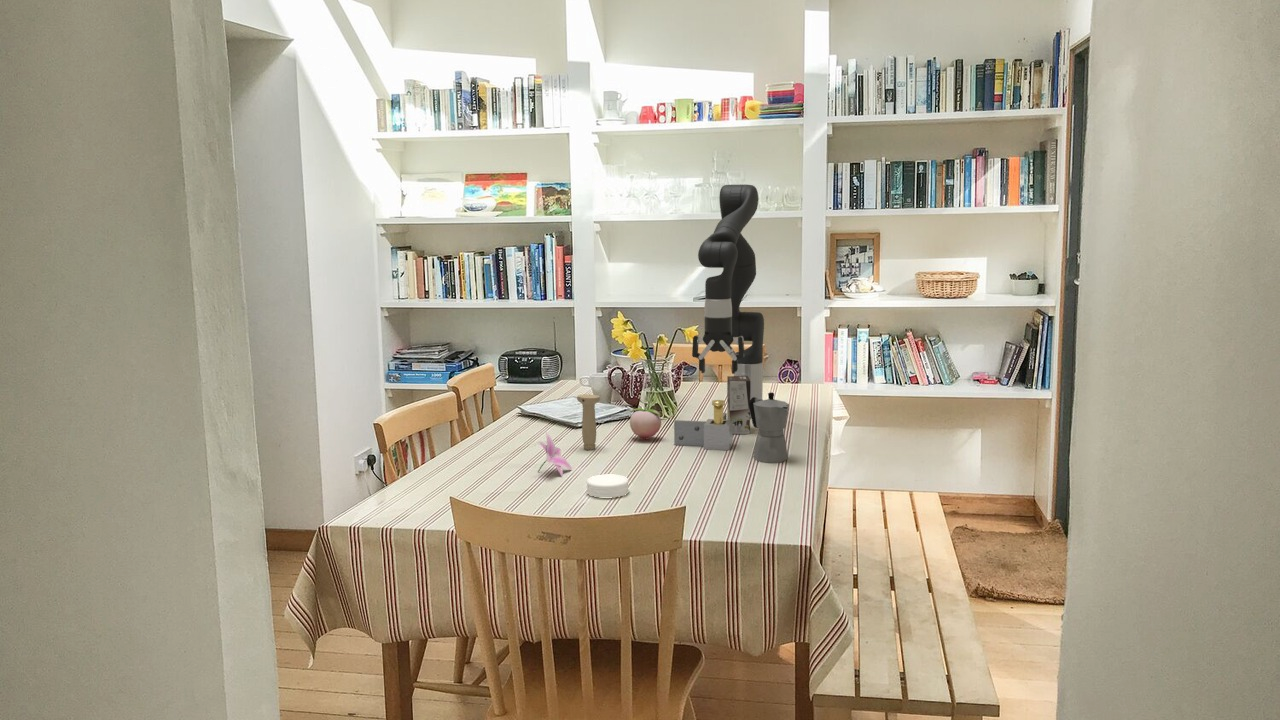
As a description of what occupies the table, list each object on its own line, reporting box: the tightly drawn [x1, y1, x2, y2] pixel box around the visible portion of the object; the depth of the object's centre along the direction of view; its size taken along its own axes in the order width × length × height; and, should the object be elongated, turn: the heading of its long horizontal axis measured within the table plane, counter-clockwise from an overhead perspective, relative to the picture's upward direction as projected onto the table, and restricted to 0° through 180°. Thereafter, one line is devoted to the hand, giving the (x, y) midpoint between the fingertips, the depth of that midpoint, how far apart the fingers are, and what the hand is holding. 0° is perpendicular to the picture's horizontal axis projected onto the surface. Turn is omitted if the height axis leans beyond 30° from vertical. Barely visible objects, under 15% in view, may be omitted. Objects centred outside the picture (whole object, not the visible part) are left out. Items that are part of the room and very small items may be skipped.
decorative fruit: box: [629, 405, 662, 440], centre depth 280 cm, size 9×8×10 cm
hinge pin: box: [711, 399, 726, 424], centre depth 271 cm, size 4×4×13 cm
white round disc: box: [586, 473, 630, 497], centre depth 230 cm, size 10×10×4 cm
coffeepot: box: [749, 392, 790, 464], centre depth 258 cm, size 15×9×18 cm, turn 34°
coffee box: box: [726, 375, 751, 435], centre depth 289 cm, size 9×6×16 cm
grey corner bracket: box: [673, 412, 734, 451], centre depth 277 cm, size 16×16×7 cm
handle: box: [576, 393, 601, 451], centre depth 270 cm, size 5×6×15 cm
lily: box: [537, 431, 573, 477], centre depth 247 cm, size 12×12×10 cm
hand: (718, 372), depth 269 cm, fingers open, 8 cm apart
